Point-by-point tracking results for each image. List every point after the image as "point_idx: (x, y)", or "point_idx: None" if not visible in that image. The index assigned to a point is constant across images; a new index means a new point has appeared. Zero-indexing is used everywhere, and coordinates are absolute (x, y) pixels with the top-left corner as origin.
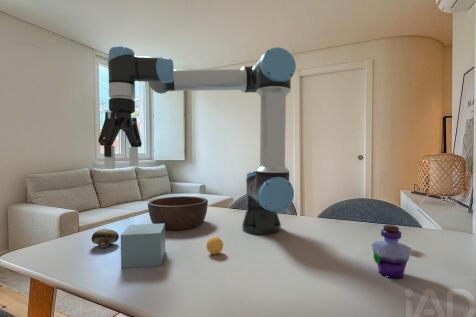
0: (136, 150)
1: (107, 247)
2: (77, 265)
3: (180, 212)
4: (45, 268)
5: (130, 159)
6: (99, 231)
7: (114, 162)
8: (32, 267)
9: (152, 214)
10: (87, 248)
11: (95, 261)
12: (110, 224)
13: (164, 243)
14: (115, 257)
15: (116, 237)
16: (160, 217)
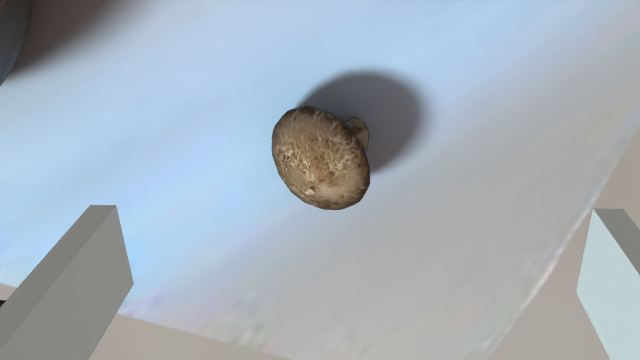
0: (9, 345)
1: (351, 118)
2: (534, 119)
3: None
4: (557, 206)
5: (97, 326)
6: (354, 181)
7: (629, 244)
8: (547, 250)
9: (2, 75)
10: None
11: (495, 77)
12: None
13: None
14: (450, 20)
15: (316, 108)
16: (19, 4)
